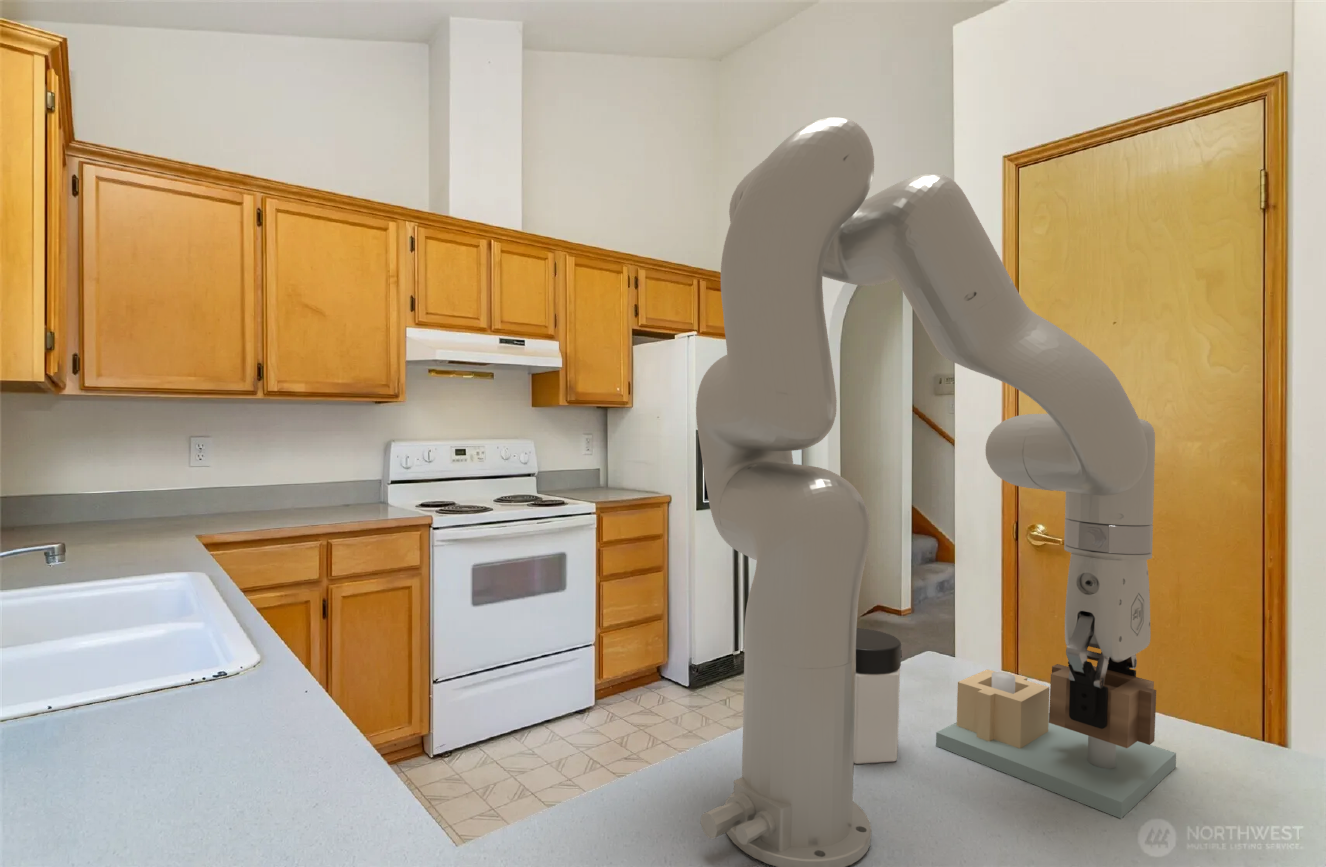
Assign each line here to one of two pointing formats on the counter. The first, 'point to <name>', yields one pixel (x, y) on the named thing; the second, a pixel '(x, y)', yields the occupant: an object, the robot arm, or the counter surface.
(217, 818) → the counter surface
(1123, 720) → the ribbed wooden holder
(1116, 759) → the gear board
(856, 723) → the jar
